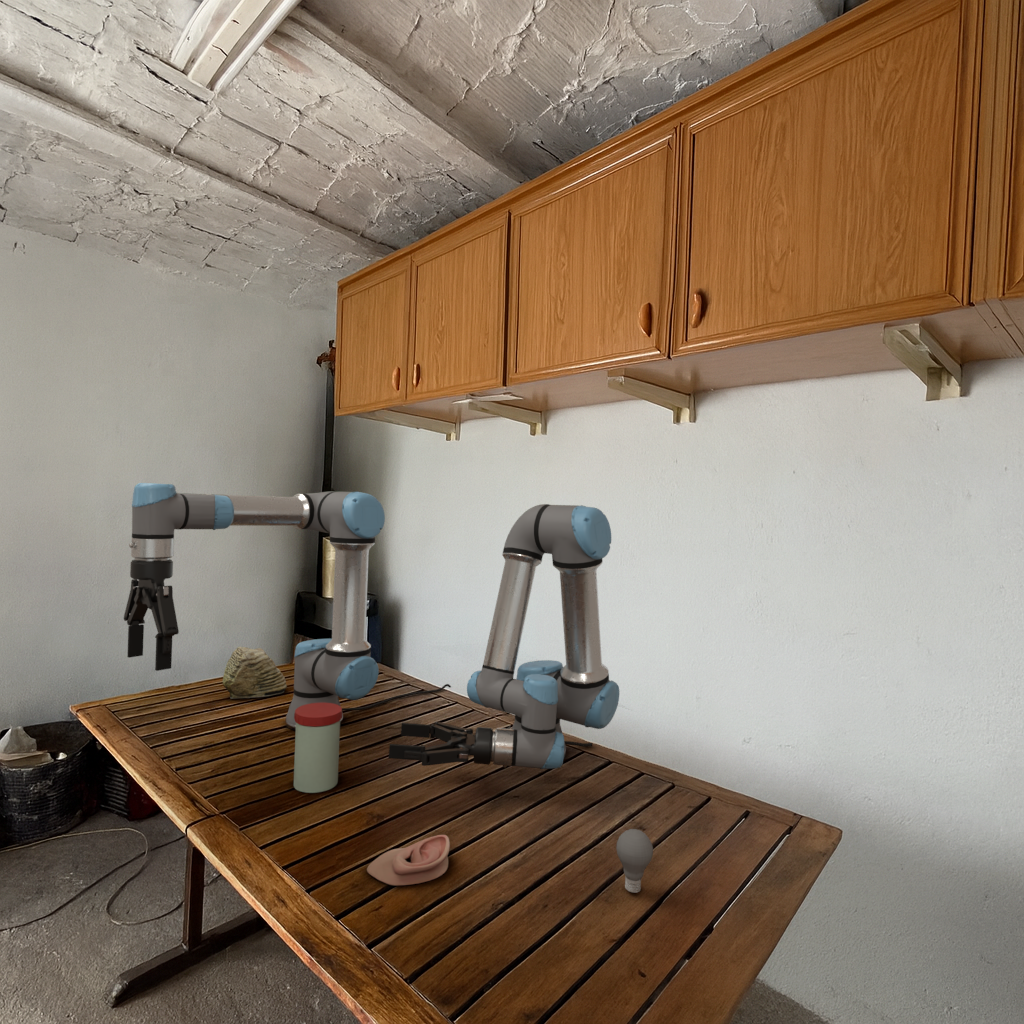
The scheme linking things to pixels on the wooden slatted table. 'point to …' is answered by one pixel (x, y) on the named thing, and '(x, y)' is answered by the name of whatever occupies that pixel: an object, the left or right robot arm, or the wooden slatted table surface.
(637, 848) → the light bulb
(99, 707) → the wooden slatted table surface
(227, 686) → the fossil
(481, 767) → the wooden slatted table surface
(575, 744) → the right robot arm
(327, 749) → the jar
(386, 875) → the anatomical model
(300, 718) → the lid
